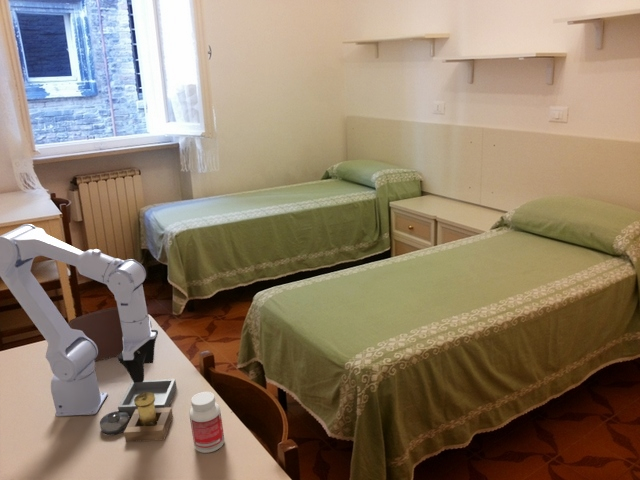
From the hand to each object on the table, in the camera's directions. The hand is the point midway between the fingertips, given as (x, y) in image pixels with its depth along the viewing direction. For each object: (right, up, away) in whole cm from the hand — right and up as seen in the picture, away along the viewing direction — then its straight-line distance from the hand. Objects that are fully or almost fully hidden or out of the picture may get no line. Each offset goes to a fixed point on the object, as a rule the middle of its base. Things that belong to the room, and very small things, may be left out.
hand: (143, 371), depth 126 cm
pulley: (-5, -11, -2) cm, 13 cm away
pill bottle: (+17, -13, -9) cm, 23 cm away
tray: (-1, -8, +6) cm, 10 cm away
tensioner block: (+3, -11, -4) cm, 12 cm away
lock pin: (+3, -11, -4) cm, 12 cm away
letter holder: (-18, -1, +32) cm, 36 cm away
